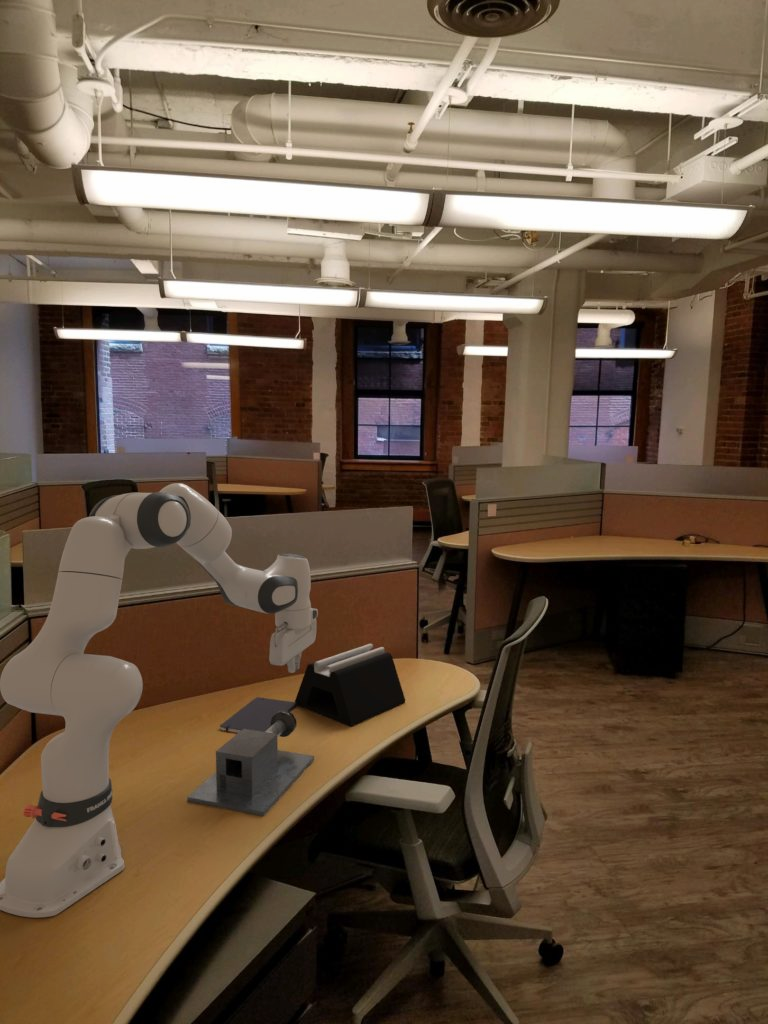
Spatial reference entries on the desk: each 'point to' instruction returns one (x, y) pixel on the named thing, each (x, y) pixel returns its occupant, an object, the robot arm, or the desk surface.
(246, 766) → the bearing housing
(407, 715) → the desk surface
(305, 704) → the device stand
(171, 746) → the desk surface
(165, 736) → the desk surface
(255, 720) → the paper product
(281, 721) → the shaft
